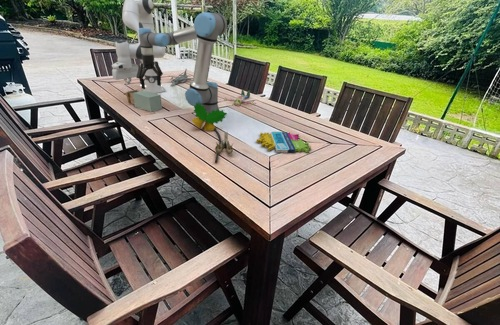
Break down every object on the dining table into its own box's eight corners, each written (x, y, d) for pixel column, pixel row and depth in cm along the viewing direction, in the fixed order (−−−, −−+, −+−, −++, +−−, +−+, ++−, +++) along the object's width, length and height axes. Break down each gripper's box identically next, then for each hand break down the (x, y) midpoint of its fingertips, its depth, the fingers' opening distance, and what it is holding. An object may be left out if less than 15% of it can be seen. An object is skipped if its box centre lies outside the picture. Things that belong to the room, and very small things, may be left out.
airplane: (161, 78, 276) (160, 68, 271) (190, 77, 289) (190, 67, 284) (170, 88, 248) (168, 77, 243) (201, 85, 261) (201, 75, 256)
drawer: (122, 101, 198) (120, 90, 194) (132, 99, 205) (131, 88, 201) (142, 107, 189) (141, 96, 185) (152, 105, 195) (151, 93, 191)
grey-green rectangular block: (134, 106, 192) (132, 92, 187) (146, 103, 200) (144, 90, 195) (151, 111, 185) (149, 97, 180) (162, 108, 192) (160, 94, 187)
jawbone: (234, 135, 144) (233, 125, 135) (233, 160, 138) (232, 151, 129) (217, 135, 144) (216, 125, 135) (216, 160, 138) (214, 150, 129)
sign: (313, 150, 142) (258, 149, 139) (312, 153, 143) (258, 152, 140) (301, 132, 164) (254, 130, 161) (301, 134, 165) (254, 133, 162)
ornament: (218, 133, 171) (224, 110, 169) (221, 134, 163) (227, 111, 161) (186, 125, 162) (192, 101, 160) (189, 126, 155) (195, 101, 153)
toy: (261, 91, 228) (254, 99, 202) (261, 99, 231) (253, 108, 205) (231, 87, 233) (220, 95, 207) (230, 95, 236) (219, 104, 210)
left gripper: (134, 62, 196) (137, 81, 203) (109, 65, 181) (113, 85, 187) (140, 63, 193) (142, 82, 200) (115, 66, 178) (118, 87, 185)
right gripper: (158, 52, 182) (161, 83, 193) (127, 55, 163) (132, 89, 174) (166, 53, 179) (168, 85, 190) (135, 56, 160) (140, 91, 171)
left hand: (128, 84), depth 194 cm, fingers closed
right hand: (151, 87), depth 182 cm, fingers open, 13 cm apart
